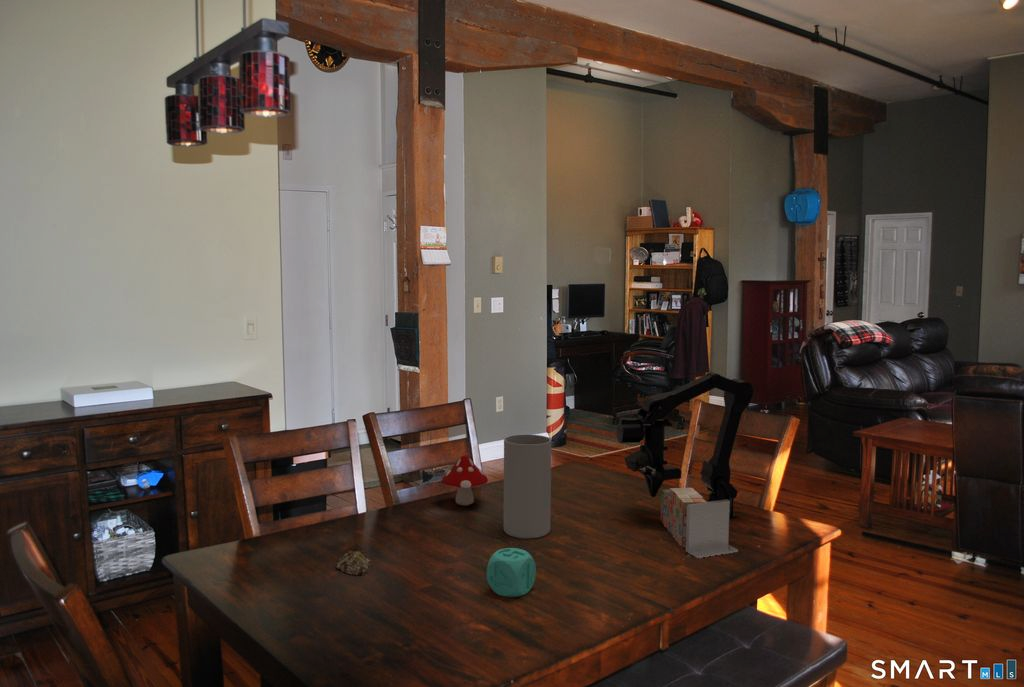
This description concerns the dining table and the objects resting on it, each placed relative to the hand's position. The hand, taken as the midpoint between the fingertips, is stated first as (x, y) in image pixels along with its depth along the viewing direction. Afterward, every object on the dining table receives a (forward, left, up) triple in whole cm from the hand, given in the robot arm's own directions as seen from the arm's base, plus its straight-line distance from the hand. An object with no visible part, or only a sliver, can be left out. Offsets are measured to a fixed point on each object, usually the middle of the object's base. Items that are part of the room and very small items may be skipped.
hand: (652, 496), depth 214 cm
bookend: (0, +27, -6) cm, 28 cm away
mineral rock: (+84, +5, -7) cm, 85 cm away
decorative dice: (+55, +29, -7) cm, 63 cm away
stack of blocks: (-1, +13, -7) cm, 15 cm away
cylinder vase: (+37, -4, -7) cm, 38 cm away
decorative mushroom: (+45, -32, -7) cm, 55 cm away
